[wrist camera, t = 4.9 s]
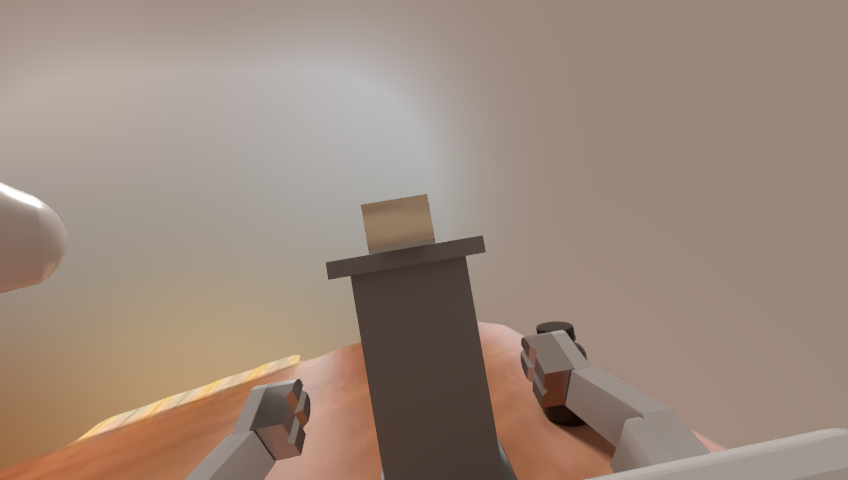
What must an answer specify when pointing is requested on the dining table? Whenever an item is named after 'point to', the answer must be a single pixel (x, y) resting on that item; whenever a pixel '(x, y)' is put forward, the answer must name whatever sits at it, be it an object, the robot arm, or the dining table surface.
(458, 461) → the tool stand
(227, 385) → the dining table surface
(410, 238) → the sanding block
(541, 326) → the supplement bottle
